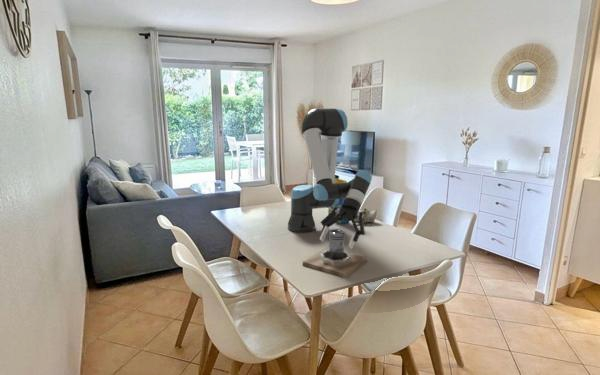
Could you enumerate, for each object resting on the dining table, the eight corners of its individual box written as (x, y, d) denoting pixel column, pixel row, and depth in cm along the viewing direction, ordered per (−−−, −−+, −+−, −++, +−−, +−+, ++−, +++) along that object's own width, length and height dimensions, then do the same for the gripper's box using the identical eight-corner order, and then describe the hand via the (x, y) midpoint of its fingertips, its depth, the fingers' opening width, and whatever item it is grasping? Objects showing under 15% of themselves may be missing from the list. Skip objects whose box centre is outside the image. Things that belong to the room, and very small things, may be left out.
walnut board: (302, 264, 148) (302, 261, 148) (326, 250, 164) (326, 247, 164) (345, 277, 137) (345, 274, 137) (366, 260, 153) (367, 257, 153)
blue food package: (336, 217, 216) (337, 177, 211) (349, 222, 206) (350, 180, 201) (327, 219, 213) (329, 178, 208) (340, 224, 203) (342, 181, 198)
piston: (325, 259, 150) (326, 232, 147) (332, 255, 155) (333, 228, 153) (338, 263, 146) (340, 236, 144) (346, 258, 152) (347, 231, 149)
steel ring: (315, 260, 149) (315, 256, 149) (330, 251, 159) (330, 247, 158) (341, 267, 142) (341, 263, 142) (354, 258, 152) (354, 253, 152)
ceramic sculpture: (379, 210, 202) (353, 211, 200) (379, 224, 203) (353, 226, 202) (373, 205, 212) (349, 207, 211) (374, 219, 214) (349, 221, 213)
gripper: (381, 211, 153) (365, 255, 144) (331, 201, 167) (313, 241, 158) (377, 201, 148) (360, 246, 139) (326, 193, 161) (307, 233, 153)
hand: (335, 244), depth 148 cm, fingers open, 13 cm apart
